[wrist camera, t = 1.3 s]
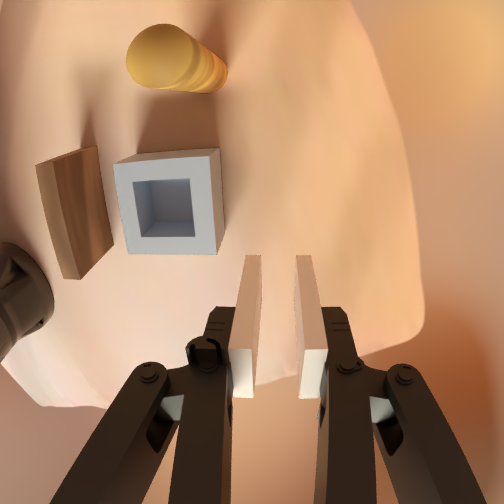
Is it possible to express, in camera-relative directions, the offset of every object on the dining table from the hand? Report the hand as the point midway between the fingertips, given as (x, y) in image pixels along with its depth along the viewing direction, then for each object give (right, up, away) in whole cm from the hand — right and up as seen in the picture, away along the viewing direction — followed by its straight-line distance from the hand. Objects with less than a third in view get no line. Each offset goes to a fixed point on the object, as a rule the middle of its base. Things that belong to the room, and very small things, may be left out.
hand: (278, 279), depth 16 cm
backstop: (-19, +8, +16) cm, 26 cm away
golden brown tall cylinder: (-6, +18, +10) cm, 21 cm away
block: (-9, +7, +15) cm, 19 cm away
